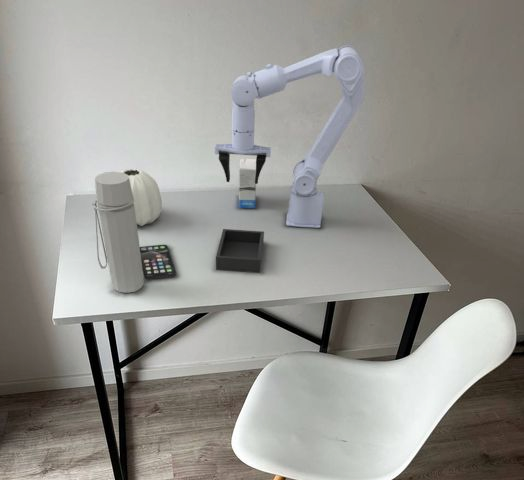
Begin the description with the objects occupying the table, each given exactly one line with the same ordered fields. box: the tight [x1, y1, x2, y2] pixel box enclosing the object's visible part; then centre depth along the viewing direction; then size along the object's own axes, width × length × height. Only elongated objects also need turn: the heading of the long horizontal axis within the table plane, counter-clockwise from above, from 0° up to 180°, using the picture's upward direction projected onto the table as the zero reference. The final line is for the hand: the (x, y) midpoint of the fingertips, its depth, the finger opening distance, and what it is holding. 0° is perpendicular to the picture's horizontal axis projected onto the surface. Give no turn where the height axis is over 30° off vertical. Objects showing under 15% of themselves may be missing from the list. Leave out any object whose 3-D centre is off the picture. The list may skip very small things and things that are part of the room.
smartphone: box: [140, 244, 177, 280], centre depth 125 cm, size 7×1×15 cm
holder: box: [215, 228, 265, 274], centre depth 128 cm, size 11×15×4 cm
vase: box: [120, 168, 163, 227], centre depth 138 cm, size 14×14×13 cm
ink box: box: [238, 158, 257, 209], centre depth 150 cm, size 9×5×12 cm, turn 179°
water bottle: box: [91, 171, 145, 294], centre depth 109 cm, size 9×8×25 cm
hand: (242, 181), depth 140 cm, fingers open, 7 cm apart
